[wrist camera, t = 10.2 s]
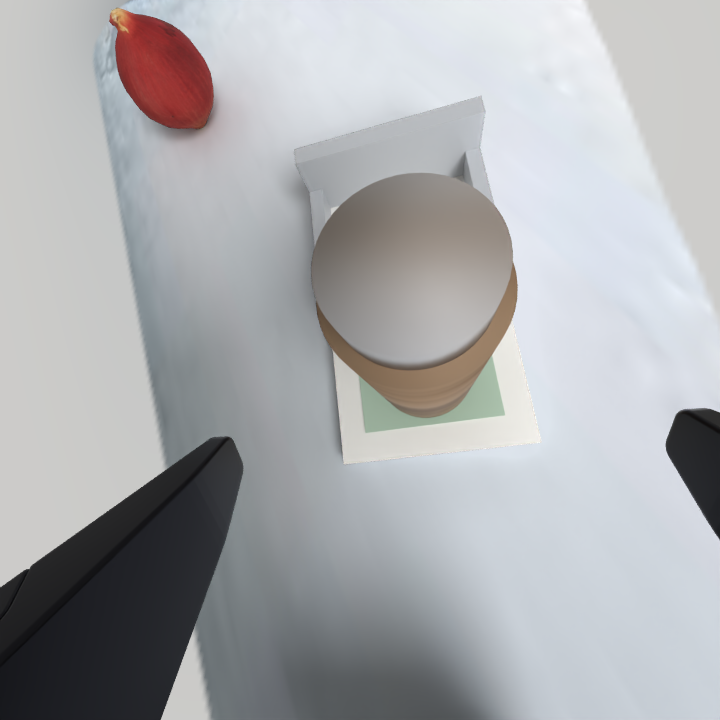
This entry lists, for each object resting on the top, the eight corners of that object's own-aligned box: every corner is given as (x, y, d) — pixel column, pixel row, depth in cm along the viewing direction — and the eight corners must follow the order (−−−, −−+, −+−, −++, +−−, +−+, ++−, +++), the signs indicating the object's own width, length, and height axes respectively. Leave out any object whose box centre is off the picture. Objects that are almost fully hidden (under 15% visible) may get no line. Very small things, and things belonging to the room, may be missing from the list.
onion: (180, 97, 29) (91, -23, 22) (240, 92, 28) (168, -39, 20) (163, 156, 28) (62, 50, 21) (224, 153, 27) (141, 39, 19)
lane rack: (535, 442, 18) (572, 442, 13) (348, 463, 20) (319, 470, 15) (471, 170, 22) (481, 95, 17) (322, 207, 24) (294, 149, 19)
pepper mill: (473, 420, 18) (542, 377, 6) (376, 415, 19) (282, 373, 7) (471, 326, 19) (528, 144, 7) (380, 327, 20) (304, 170, 8)
